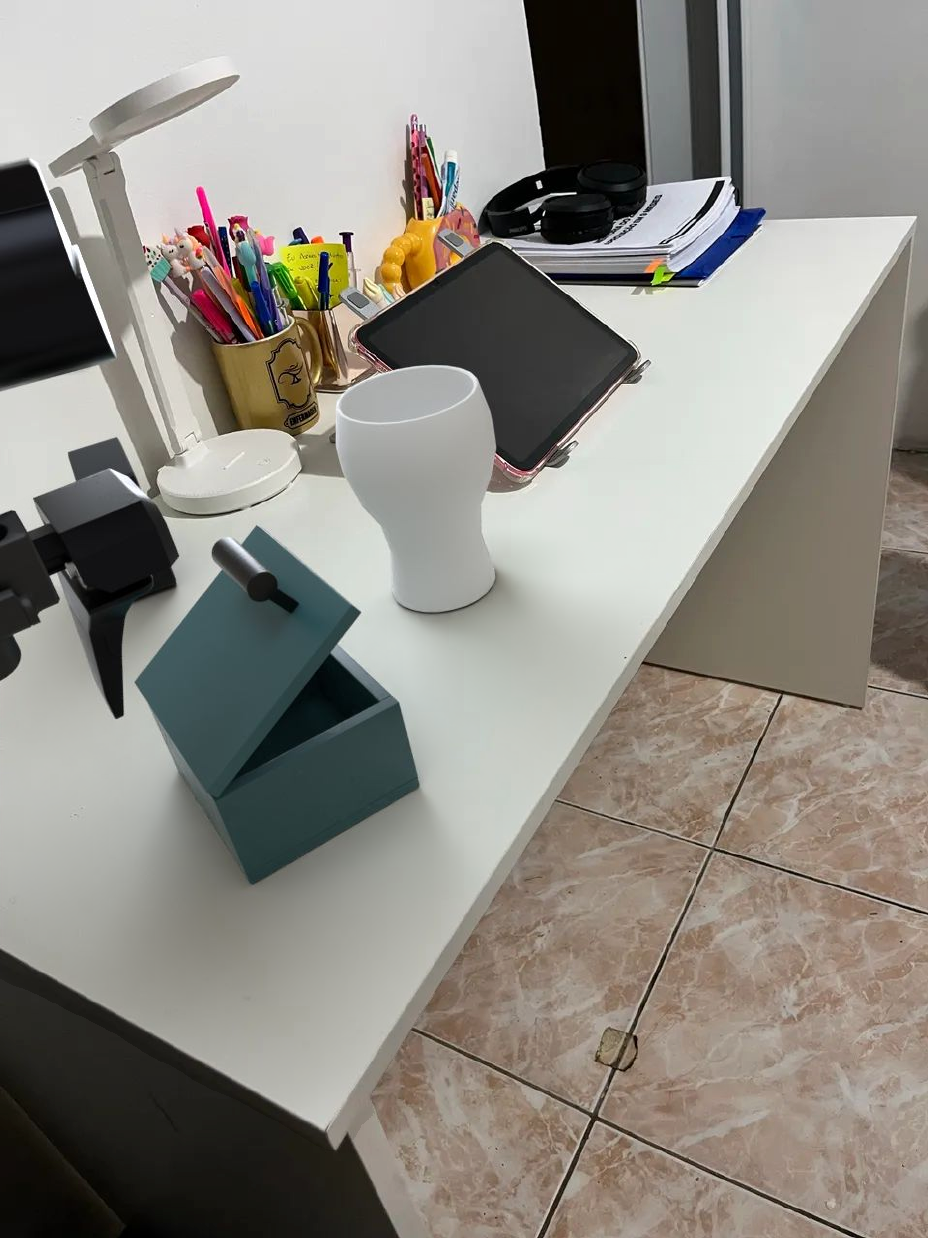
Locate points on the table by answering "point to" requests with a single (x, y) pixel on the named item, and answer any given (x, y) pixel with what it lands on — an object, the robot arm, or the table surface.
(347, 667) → the teal box
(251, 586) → the box lid
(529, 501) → the table surface
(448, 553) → the white vase
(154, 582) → the electronic device
